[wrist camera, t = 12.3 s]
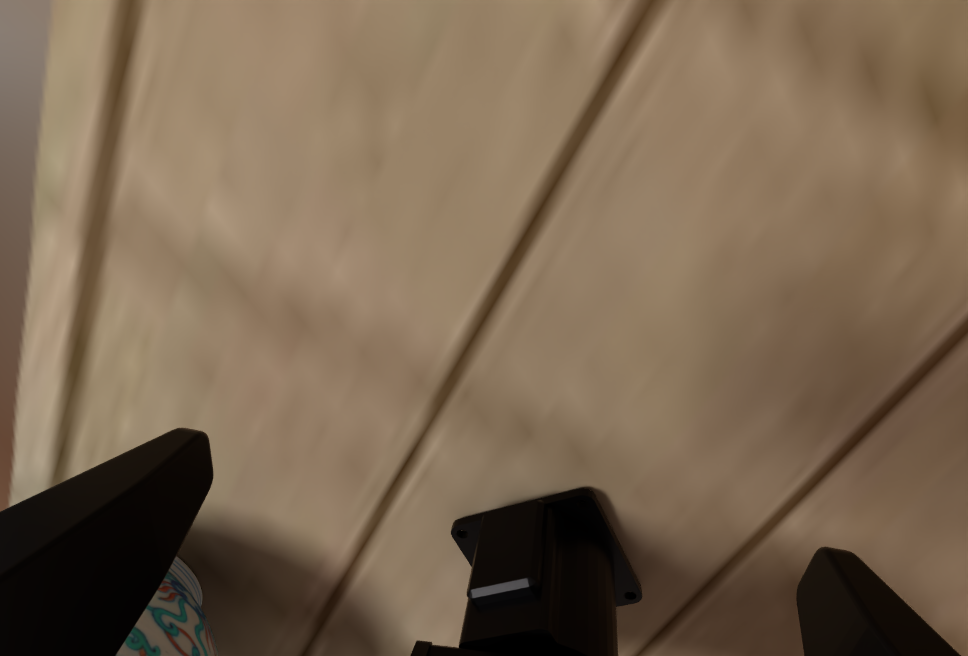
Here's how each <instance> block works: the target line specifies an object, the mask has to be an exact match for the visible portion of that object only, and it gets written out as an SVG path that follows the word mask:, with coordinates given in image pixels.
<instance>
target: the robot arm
mask: <svg viewBox="0 0 968 656" xmlns="http://www.w3.org/2000/svg"><path fill="white" fill-rule="evenodd" d="M212 481H213V465H212V458H211V450H210V443H209V438H208V436H207V434H206V433H204V432H203V431H198V430H193V429H188V428H177V429H174V430H172V431H170V432H167V433H165V434H163V435H161V436H159V437H157V438H155V439H153V440H151V441H148V442H146V443H144V444H142V445H140V446H138V447H136V448H134V449H132V450H129V451H127V452H125V453H123V454H121V455H119V456H117V457H115V458H113V459H110V460H108V461H106V462H104V463H102V464H100V465H98V466H96V467H94V468H91V469H89V470H87V471H85V472H83V473H81V474H79V475H77V476H75V477H72V478H70V479H68V480H66V481H64V482H62V483H60V484H58V485H56V486H53V487H51V488H49V489H47V490H45V491H43V492H41V493H39V494H37V495H35V496H32V497H30V498H28V499H26V500H24V501H22V502H20V503H18V504H16V505H13V506H11V507H9V508H7V509H5V510H3V511H1V512H0V656H116V654H117V653H118V651H119V650H120V648H121V647H122V645H123V643H124V642H125V640H126V639H127V637H128V636H129V634H130V632H131V631H132V629H133V628H134V626H135V625H136V623H137V622H138V620H139V618H140V617H141V615H142V614H143V612H144V611H145V609H146V607H147V606H148V604H149V603H150V601H151V600H152V598H153V596H154V595H155V593H156V592H157V590H158V588H159V587H160V585H161V583H162V582H163V580H164V578H165V577H166V575H167V573H168V571H169V569H170V567H171V565H172V564H173V562H174V560H175V558H176V556H177V554H178V552H179V550H180V548H181V546H182V544H183V542H184V540H185V538H186V536H187V534H188V532H189V530H190V528H191V526H192V524H193V522H194V520H195V518H196V516H197V514H198V512H199V510H200V508H201V506H202V504H203V502H204V500H205V498H206V496H207V494H208V492H209V490H210V487H211V485H212ZM580 500H586V501H587V502H580ZM461 530H465V531H461ZM451 535H452V537H453V539H454V540H455V542H456V543H457V545H458V546H459V548H460V550H461V551H462V553H463V554H464V556H465V557H466V559H467V560H468V562H469V564H470V565H471V567H472V569H471V574H470V579H469V584H468V589H467V597H468V602H467V607H466V612H465V617H464V622H463V627H462V632H461V637H460V642H459V648H457V647H448V646H439V645H432V642H427V641H416V644H415V646H414V648H413V651H412V653H411V656H618V644H617V620H616V607H617V606H623V605H628V604H634V603H637V602H639V601H640V600H641V599H642V589H641V585H640V583H639V581H638V579H637V577H636V575H635V573H634V571H633V569H632V567H631V565H630V563H629V561H628V559H627V557H626V555H625V553H624V551H623V549H622V547H621V545H620V543H619V541H618V539H617V537H616V535H615V533H614V531H613V529H612V527H611V525H610V523H609V521H608V520H607V518H606V516H605V514H604V512H603V510H602V508H601V506H600V504H599V502H598V500H597V498H596V496H595V494H594V493H593V492H592V491H591V490H589V489H585V488H581V489H576V490H572V491H568V492H564V493H560V494H556V495H552V496H548V497H544V498H540V499H536V500H532V501H528V502H524V503H520V504H516V505H512V506H508V507H504V508H500V509H496V510H492V511H488V512H484V513H480V514H476V515H472V516H468V517H464V518H460V519H458V520H455V522H454V523H453V526H452V530H451ZM797 607H798V614H799V621H800V628H801V634H802V641H803V648H804V655H805V656H961V655H960V654H959V653H958V652H956V651H955V650H954V649H953V648H952V647H951V646H950V645H949V644H948V643H947V642H946V641H945V640H944V639H943V638H942V637H941V636H940V635H939V634H938V633H937V632H936V631H935V630H934V629H933V628H931V627H930V626H929V625H928V624H927V623H926V622H925V621H924V620H923V619H922V618H921V617H920V616H919V615H918V614H917V613H916V612H915V611H914V610H913V609H912V608H911V607H910V606H909V605H908V604H906V603H905V602H904V601H903V600H902V599H901V598H900V597H899V596H898V595H897V594H896V593H895V592H894V591H893V590H892V589H891V588H890V587H889V586H888V585H887V584H886V583H885V582H884V581H883V580H881V579H880V578H879V577H878V576H877V575H876V574H875V573H874V572H873V571H872V570H871V569H870V568H869V567H868V566H867V565H866V564H865V563H864V562H863V561H862V560H861V559H860V558H859V557H857V556H856V555H855V554H854V553H852V552H849V551H846V550H841V549H835V548H830V547H821V548H819V549H818V550H817V551H816V552H815V554H814V556H813V558H812V560H811V562H810V563H809V565H808V567H807V569H806V571H805V573H804V575H803V577H802V579H801V581H800V582H799V585H798V589H797Z"/></svg>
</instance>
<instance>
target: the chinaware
mask: <svg viewBox="0 0 968 656" xmlns="http://www.w3.org/2000/svg"><path fill="white" fill-rule="evenodd" d="M202 599H203V597H202V590H201V587H200V584H199V582H198V580H197V578H196V576H195V575H194V573H193V572H192V571H191V570H190V568H189V567H188V566H187V565H186V564H185V563H184V562H183V561H182V560H181V559H180V558H178V557H177V556H176V558H175V560H174V562H173V564H172V565H171V567H170V569H169V571H168V573H167V575H166V577H165V578H164V580H163V582H162V583H161V585H160V587H159V588H158V590H157V592H156V593H155V595H154V596H153V598H152V600H151V601H150V603H149V604H148V606H147V607H146V609H145V611H144V612H143V614H142V615H141V617H140V618H139V620H138V622H137V623H136V625H135V626H134V628H133V629H132V631H131V632H130V634H129V636H128V637H127V639H126V640H125V642H124V643H123V645H122V647H121V648H120V650H119V651H118V653H117V654H116V656H218V652H217V647H216V644H215V640H214V637H213V634H212V631H211V628H210V626H209V623H208V621H207V619H206V617H205V615H204V613H203V611H202V609H201V605H202Z"/></svg>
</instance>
